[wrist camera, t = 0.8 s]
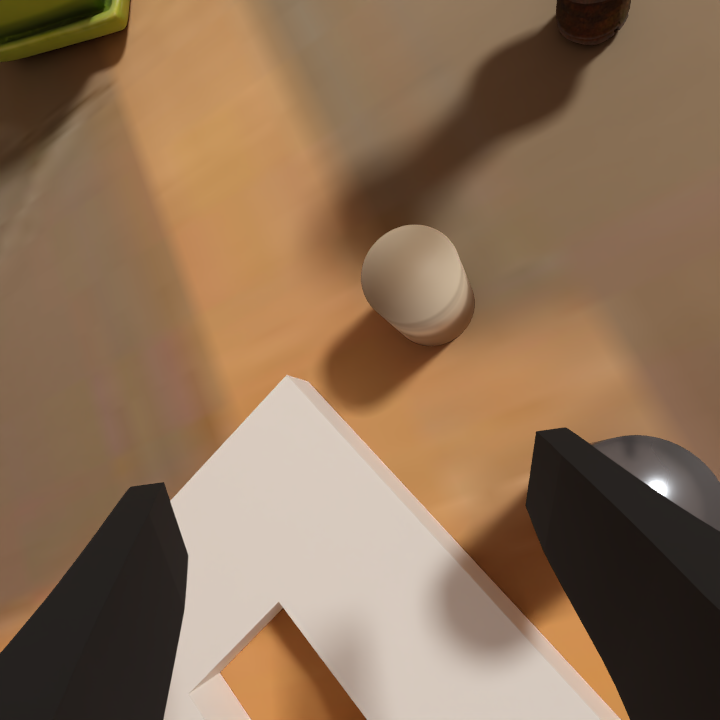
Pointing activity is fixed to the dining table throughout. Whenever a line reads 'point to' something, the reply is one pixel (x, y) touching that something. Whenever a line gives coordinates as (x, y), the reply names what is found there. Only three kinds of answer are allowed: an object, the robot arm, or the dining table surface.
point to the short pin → (418, 284)
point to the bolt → (590, 19)
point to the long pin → (668, 473)
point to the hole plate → (349, 582)
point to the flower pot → (56, 24)
